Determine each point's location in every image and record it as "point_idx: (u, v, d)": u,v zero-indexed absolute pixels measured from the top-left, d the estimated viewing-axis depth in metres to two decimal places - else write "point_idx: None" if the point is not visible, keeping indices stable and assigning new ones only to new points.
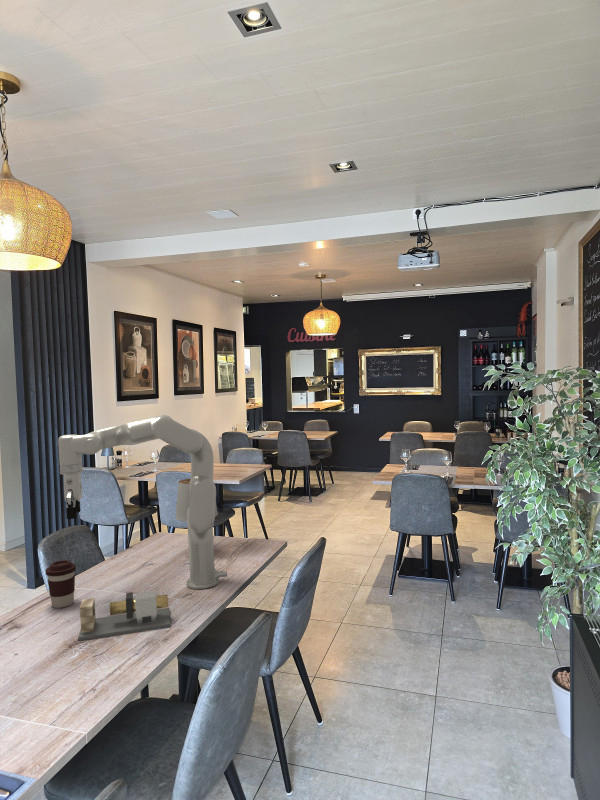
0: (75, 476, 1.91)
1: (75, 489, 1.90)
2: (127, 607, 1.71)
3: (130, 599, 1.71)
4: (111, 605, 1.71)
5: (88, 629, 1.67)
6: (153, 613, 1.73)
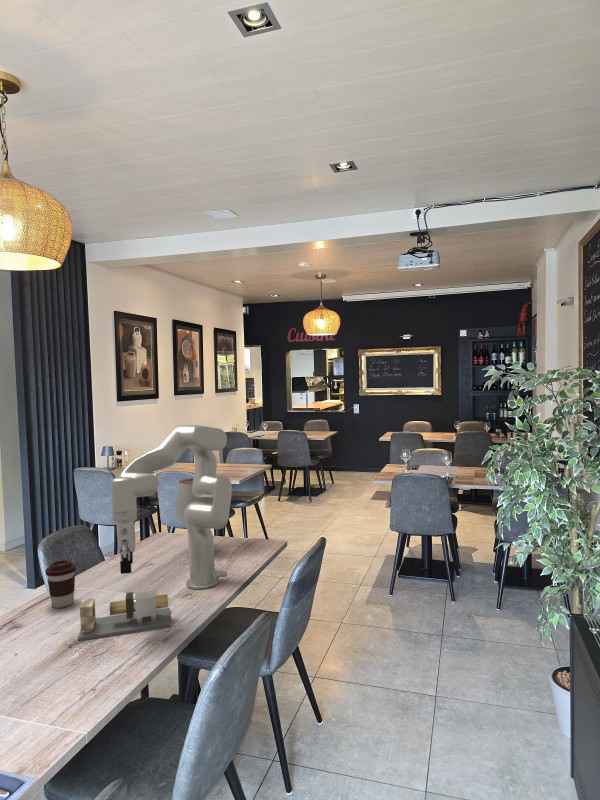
0: (130, 525, 1.69)
1: (130, 539, 1.69)
2: (127, 607, 1.71)
3: (130, 599, 1.71)
4: (111, 605, 1.71)
5: (88, 629, 1.67)
6: (153, 613, 1.73)
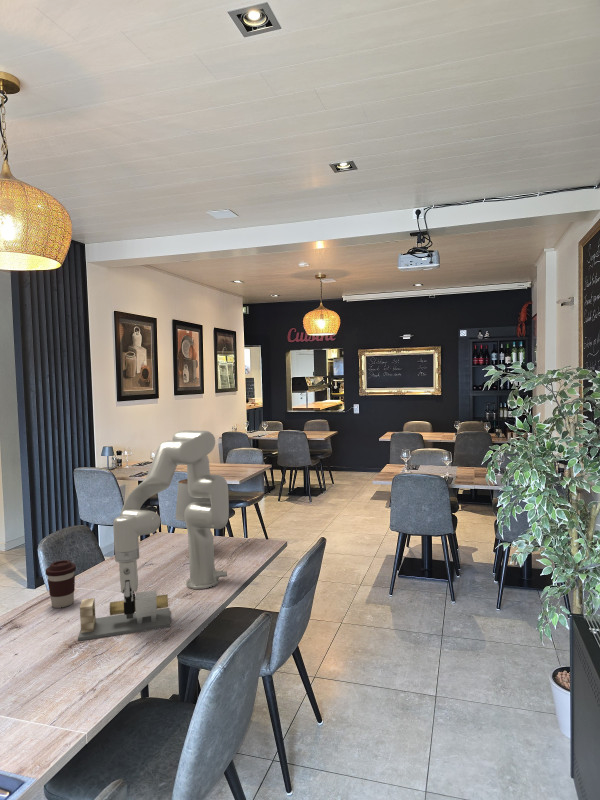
0: (133, 565, 1.70)
1: (132, 579, 1.69)
2: None
3: None
4: (111, 605, 1.71)
5: (88, 629, 1.67)
6: (153, 613, 1.73)
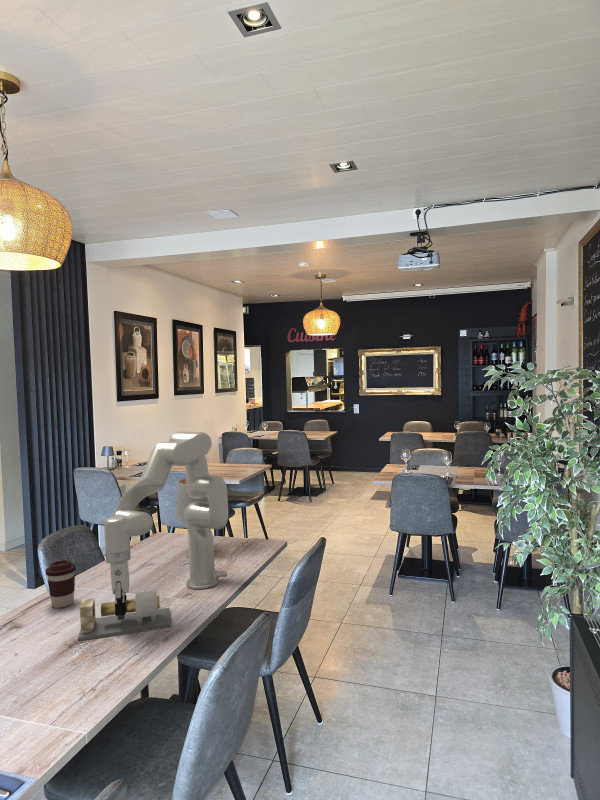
0: (124, 566, 1.69)
1: (124, 580, 1.69)
2: None
3: None
4: (102, 606, 1.70)
5: (88, 629, 1.67)
6: (153, 613, 1.73)
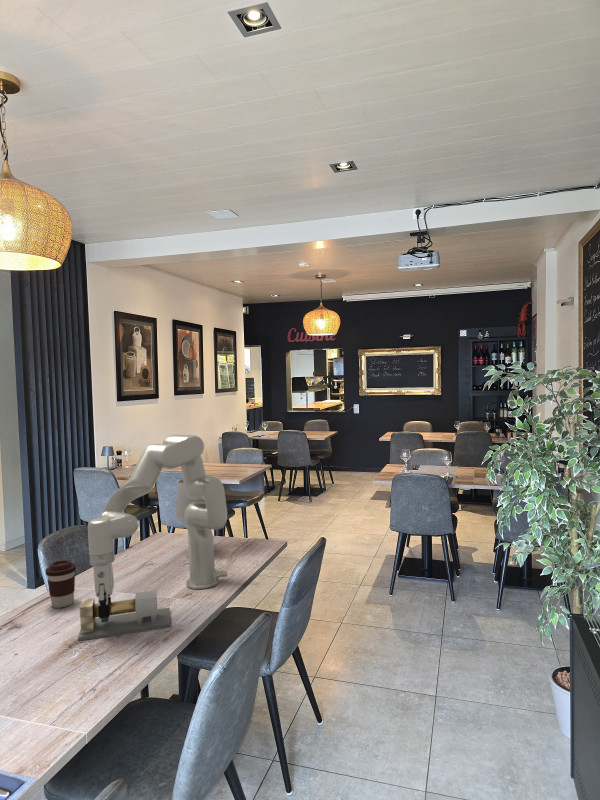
0: (107, 568, 1.68)
1: (107, 582, 1.67)
2: None
3: None
4: None
5: (88, 629, 1.67)
6: (153, 613, 1.73)
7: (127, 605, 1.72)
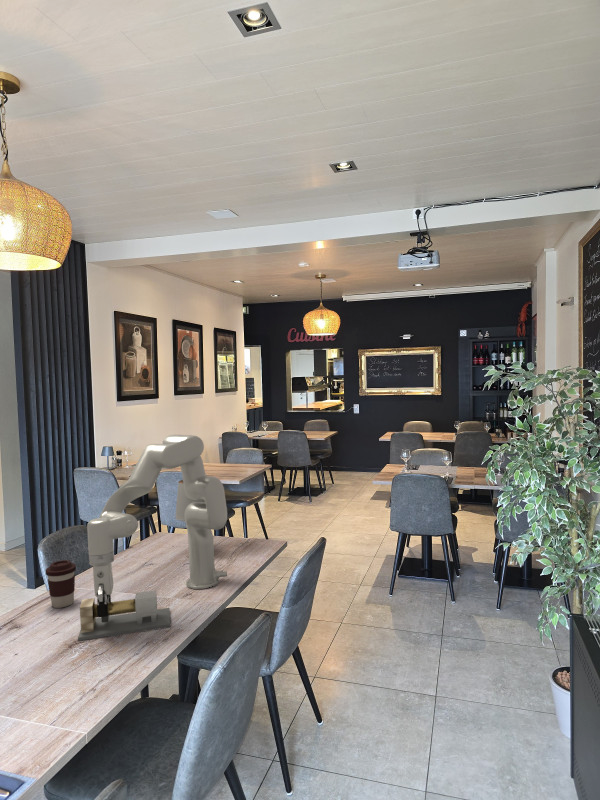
0: (107, 568, 1.68)
1: (106, 582, 1.67)
2: None
3: None
4: None
5: (88, 629, 1.67)
6: (153, 613, 1.73)
7: (127, 605, 1.72)
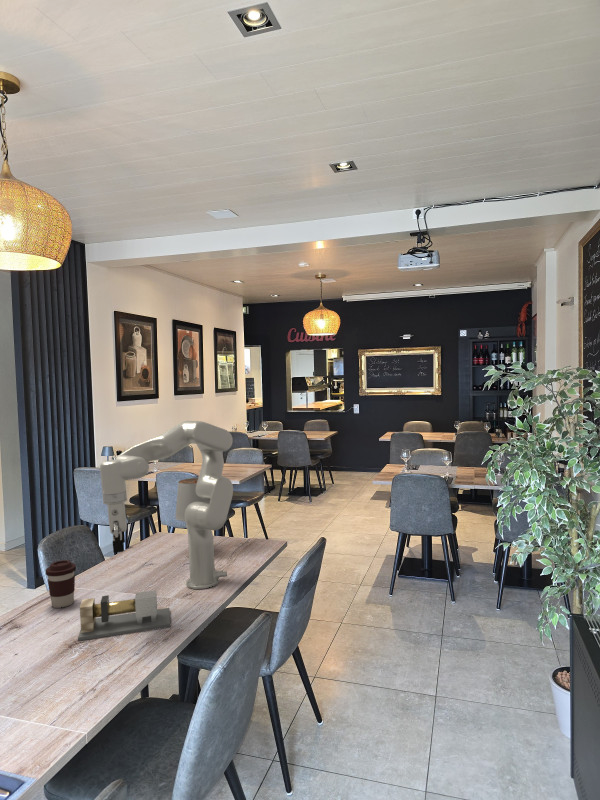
0: (120, 506, 1.76)
1: (121, 519, 1.75)
2: (102, 611, 1.69)
3: (105, 602, 1.69)
4: None
5: (88, 629, 1.67)
6: (153, 613, 1.73)
7: (127, 605, 1.72)
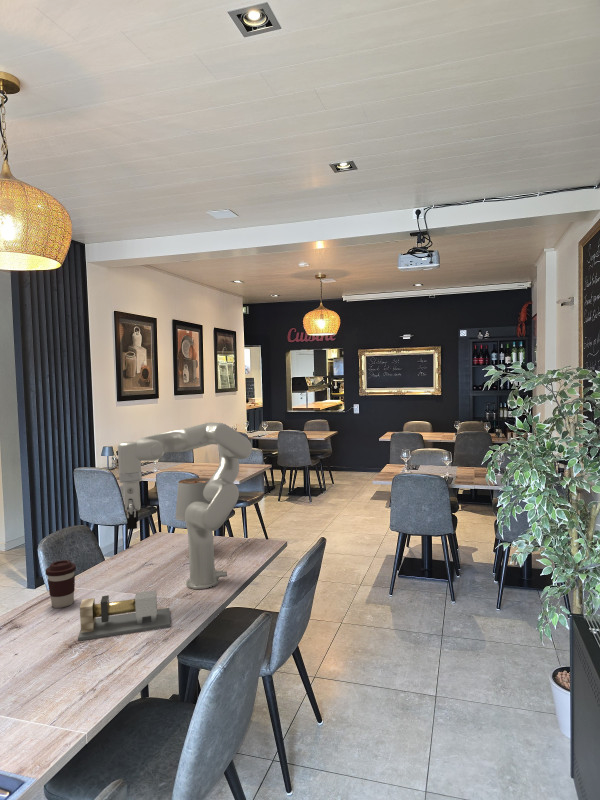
0: (136, 485, 1.85)
1: (135, 498, 1.84)
2: (102, 611, 1.69)
3: (105, 602, 1.69)
4: None
5: (88, 629, 1.67)
6: (153, 613, 1.73)
7: (127, 605, 1.72)
